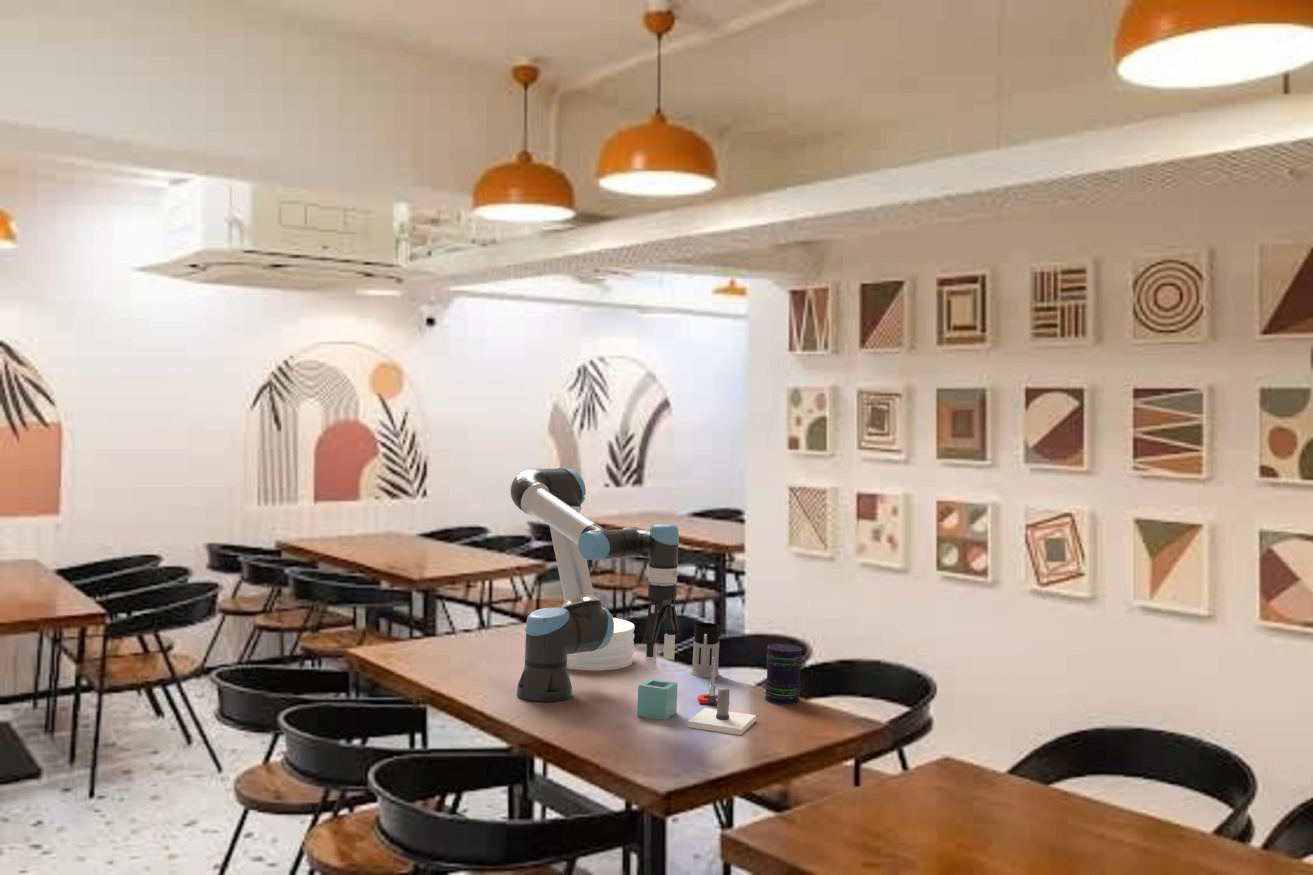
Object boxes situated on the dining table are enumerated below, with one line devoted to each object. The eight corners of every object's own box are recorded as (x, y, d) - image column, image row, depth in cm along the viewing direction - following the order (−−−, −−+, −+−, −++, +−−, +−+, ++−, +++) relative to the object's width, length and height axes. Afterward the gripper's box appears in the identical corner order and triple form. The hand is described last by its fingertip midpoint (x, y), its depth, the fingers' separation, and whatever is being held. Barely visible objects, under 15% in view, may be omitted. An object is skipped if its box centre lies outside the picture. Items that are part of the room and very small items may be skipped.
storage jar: (806, 700, 304) (809, 648, 304) (786, 706, 297) (788, 652, 296) (778, 693, 311) (780, 641, 310) (757, 698, 304) (759, 646, 303)
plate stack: (649, 659, 347) (651, 624, 347) (599, 675, 323) (600, 637, 323) (579, 646, 362) (581, 612, 362) (526, 660, 338) (528, 624, 338)
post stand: (687, 726, 274) (689, 691, 273) (704, 713, 287) (706, 679, 286) (740, 735, 269) (742, 699, 268) (755, 720, 282) (757, 686, 282)
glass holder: (719, 671, 334) (722, 623, 334) (717, 682, 320) (720, 632, 320) (691, 669, 335) (693, 621, 335) (688, 680, 321) (690, 630, 321)
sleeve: (637, 715, 282) (638, 685, 282) (648, 708, 289) (649, 678, 289) (665, 719, 279) (667, 689, 279) (676, 712, 286) (677, 682, 286)
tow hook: (699, 697, 305) (695, 704, 296) (702, 651, 305) (698, 656, 296) (729, 699, 303) (726, 706, 294) (731, 653, 304) (729, 659, 295)
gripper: (659, 590, 270) (656, 675, 270) (691, 578, 294) (689, 656, 294) (631, 588, 273) (628, 671, 273) (665, 576, 296) (663, 653, 296)
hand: (659, 663), depth 283 cm, fingers open, 13 cm apart
